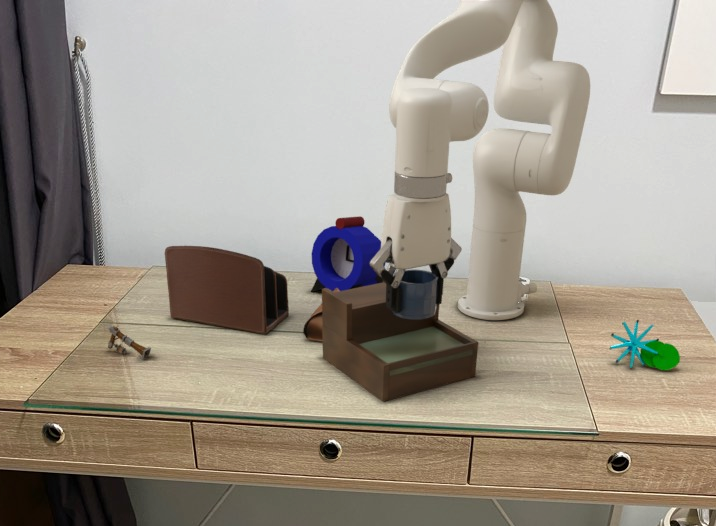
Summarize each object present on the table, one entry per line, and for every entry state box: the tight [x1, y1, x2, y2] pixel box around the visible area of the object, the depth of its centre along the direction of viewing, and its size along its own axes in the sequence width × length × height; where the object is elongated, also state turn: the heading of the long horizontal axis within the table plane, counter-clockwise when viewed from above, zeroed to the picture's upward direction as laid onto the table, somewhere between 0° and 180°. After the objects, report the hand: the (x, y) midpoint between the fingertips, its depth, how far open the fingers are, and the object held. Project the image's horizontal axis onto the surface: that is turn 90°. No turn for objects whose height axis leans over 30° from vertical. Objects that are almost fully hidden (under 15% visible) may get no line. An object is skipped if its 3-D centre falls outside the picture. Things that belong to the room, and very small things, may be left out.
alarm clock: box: [310, 216, 387, 293], centre depth 169 cm, size 12×12×15 cm
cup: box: [392, 269, 438, 320], centre depth 133 cm, size 7×7×6 cm
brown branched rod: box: [107, 325, 152, 360], centre depth 147 cm, size 2×8×4 cm, turn 66°
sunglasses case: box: [302, 288, 340, 343], centre depth 158 cm, size 18×7×7 cm
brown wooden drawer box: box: [321, 282, 479, 402], centre depth 141 cm, size 19×18×12 cm
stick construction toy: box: [608, 319, 681, 371], centre depth 146 cm, size 12×7×8 cm
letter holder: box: [164, 245, 290, 336], centre depth 157 cm, size 10×20×14 cm, turn 68°
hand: (414, 305), depth 134 cm, fingers closed on cup, 6 cm apart
